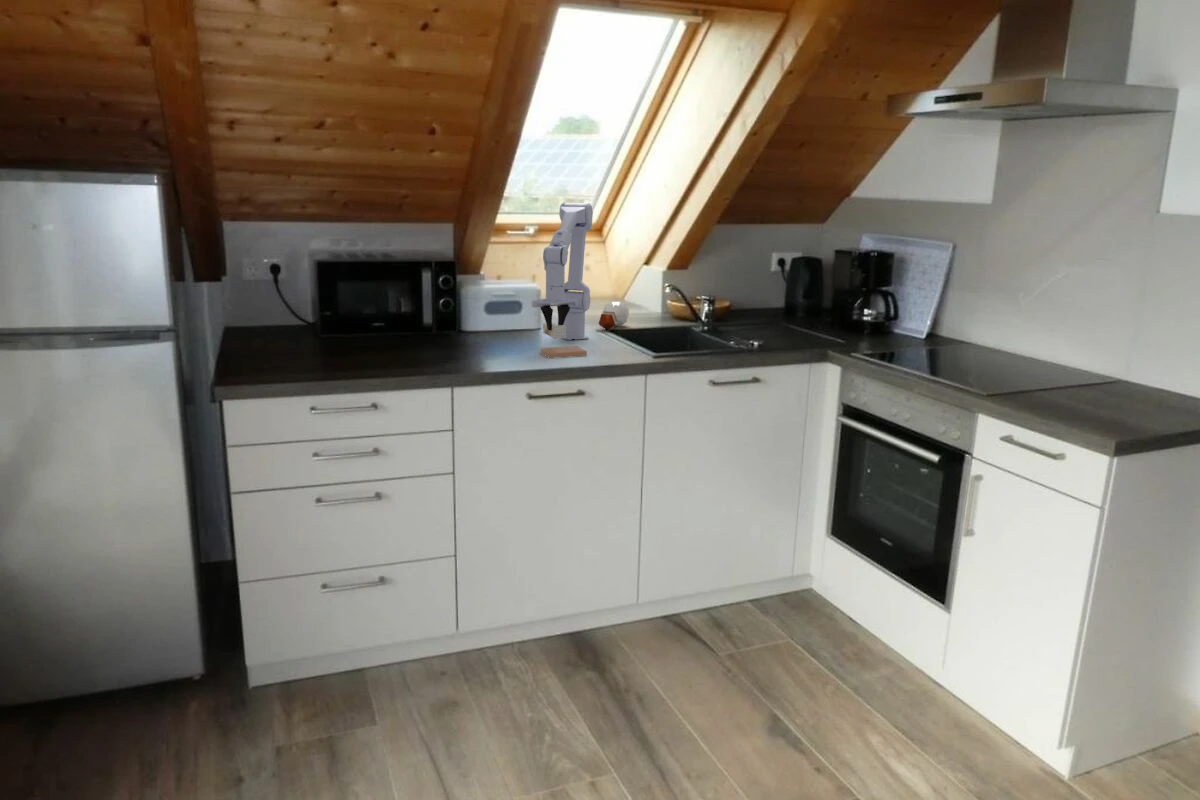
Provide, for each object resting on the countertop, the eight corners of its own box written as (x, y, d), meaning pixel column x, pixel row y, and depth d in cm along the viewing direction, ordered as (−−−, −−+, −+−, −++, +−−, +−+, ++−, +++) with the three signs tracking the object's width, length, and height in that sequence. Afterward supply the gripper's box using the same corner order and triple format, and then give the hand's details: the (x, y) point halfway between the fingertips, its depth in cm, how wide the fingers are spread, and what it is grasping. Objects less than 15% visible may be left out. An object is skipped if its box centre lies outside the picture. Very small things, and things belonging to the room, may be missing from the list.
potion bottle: (623, 328, 322) (610, 339, 309) (602, 311, 322) (589, 322, 309) (637, 309, 317) (625, 320, 304) (616, 292, 318) (603, 302, 305)
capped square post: (541, 332, 278) (541, 320, 277) (553, 332, 279) (553, 319, 278) (553, 338, 268) (553, 325, 267) (565, 337, 270) (565, 325, 269)
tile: (540, 348, 268) (549, 353, 261) (576, 345, 273) (586, 350, 266) (540, 354, 269) (549, 360, 261) (576, 352, 273) (586, 357, 266)
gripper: (537, 288, 262) (537, 332, 266) (582, 286, 268) (581, 330, 271) (529, 285, 269) (529, 328, 272) (573, 283, 274) (573, 326, 278)
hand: (554, 329), depth 272 cm, fingers closed on capped square post, 3 cm apart
